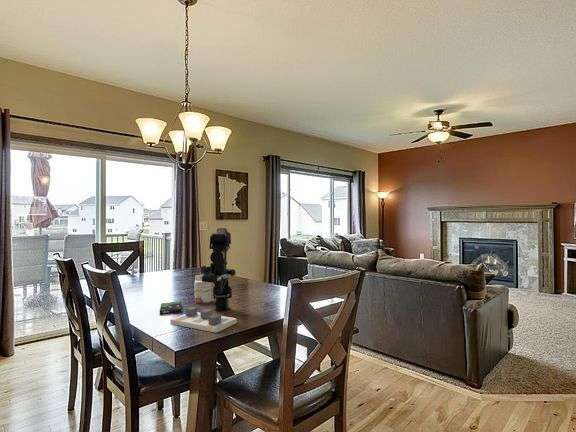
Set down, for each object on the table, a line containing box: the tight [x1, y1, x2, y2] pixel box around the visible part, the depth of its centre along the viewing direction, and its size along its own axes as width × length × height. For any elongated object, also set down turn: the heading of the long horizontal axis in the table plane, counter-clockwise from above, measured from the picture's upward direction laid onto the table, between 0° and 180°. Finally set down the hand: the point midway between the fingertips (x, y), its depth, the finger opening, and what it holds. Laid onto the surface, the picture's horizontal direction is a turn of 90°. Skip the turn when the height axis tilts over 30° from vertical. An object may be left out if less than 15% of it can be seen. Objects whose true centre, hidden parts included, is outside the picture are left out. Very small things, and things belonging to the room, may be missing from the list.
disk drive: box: [159, 301, 182, 316], centre depth 175 cm, size 10×3×15 cm
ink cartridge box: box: [194, 274, 212, 304], centre depth 191 cm, size 9×5×15 cm, turn 110°
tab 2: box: [209, 314, 222, 325], centre depth 147 cm, size 4×4×3 cm
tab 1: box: [185, 306, 198, 316], centre depth 159 cm, size 4×4×3 cm
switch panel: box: [169, 311, 238, 333], centre depth 154 cm, size 14×26×2 cm, turn 62°
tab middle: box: [200, 308, 213, 319], centre depth 155 cm, size 4×4×3 cm
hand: (219, 293), depth 160 cm, fingers closed
